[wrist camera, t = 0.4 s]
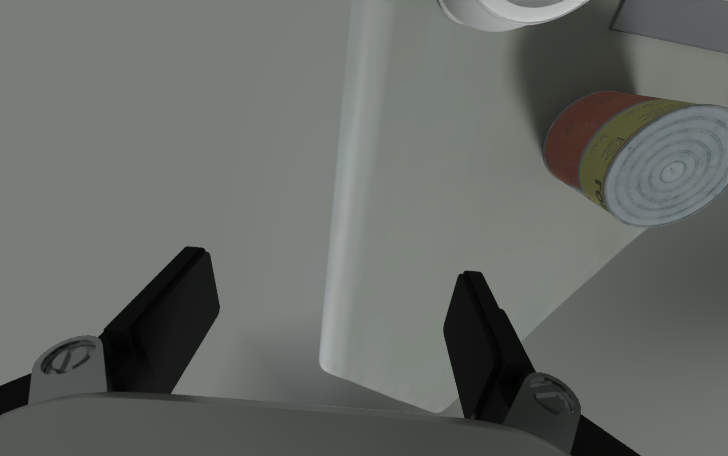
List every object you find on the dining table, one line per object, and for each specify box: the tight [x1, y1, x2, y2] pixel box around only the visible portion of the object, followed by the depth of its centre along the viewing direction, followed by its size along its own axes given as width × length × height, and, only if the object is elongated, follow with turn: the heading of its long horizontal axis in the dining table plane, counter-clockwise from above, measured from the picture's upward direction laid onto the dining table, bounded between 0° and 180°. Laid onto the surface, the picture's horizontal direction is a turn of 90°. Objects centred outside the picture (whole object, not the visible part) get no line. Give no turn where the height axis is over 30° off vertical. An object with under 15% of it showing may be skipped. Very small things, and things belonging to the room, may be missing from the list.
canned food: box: [543, 90, 728, 228], centre depth 33 cm, size 11×11×12 cm
